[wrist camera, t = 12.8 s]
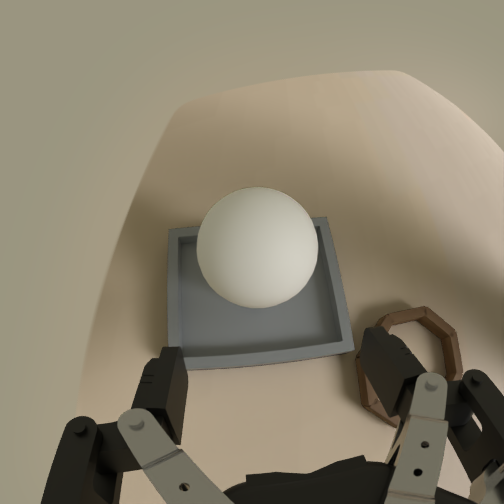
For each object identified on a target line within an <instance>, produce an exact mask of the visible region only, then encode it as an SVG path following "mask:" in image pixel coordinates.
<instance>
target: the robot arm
mask: <svg viewBox="0 0 504 504" xmlns="http://www.w3.org/2000/svg"><path fill="white" fill-rule="evenodd" d="M360 364H361V367H362V369H363V371H364V373H365V375H366V376H367V378H368V380H369V382H370V384H371V385H372V387H373V389H374V391H375V393H376V394H377V396H378V398H379V400H380V402H381V404H382V405H383V407H384V409H385V411H386V413H387V415H388V417H389V418H391V417H394V416H397V415H399V417H400V420H399V423H398V426H397V429H396V432H395V436H394V439H393V442H392V445H391V448H390V451H389V453H388V456H387V458H386V460H385V462H384V463H382V462H371V461H367V462H366V459H365V457H364V455H361V456H357V457H353V458H349V459H345V460H341V461H337V462H335V463H332V464H330V465H328V466H326V467H324V468H321V469H319V470H317V471H314V472H312V473H308V474H300V473H283V472H272V473H262V474H249V475H246V482H243V483H240V484H237V485H235V486H232V487H231V488H229V489H227V490H225V491H224V492H222V491H221V490H220V489H219V488H218V487H217V486H216V485H215V484H214V483H213V482H212V481H211V480H210V479H209V478H208V477H207V476H206V475H205V474H204V473H203V472H202V471H201V470H200V469H199V468H198V466H197V465H196V464H195V463H194V462H193V461H192V460H191V459H190V457H189V456H188V455H187V454H186V453H185V452H184V451H183V450H182V449H178V447H177V446H176V445H181V437H182V429H183V421H184V413H185V405H186V398H187V390H188V374H187V370H186V366H185V362H184V357H183V353H182V349H181V347H180V346H175V347H163V348H162V350H161V354H160V357H159V358H152V359H151V360H150V361H149V362H148V363H147V364H146V365H145V367H144V370H143V373H142V376H141V379H140V383H139V385H138V388H137V391H136V394H135V398H134V401H133V404H132V407H131V409H130V410H128V411H126V412H124V413H123V414H122V415H121V416H120V417H119V419H118V421H116V422H112V423H105V424H98V425H97V424H96V423H95V421H94V420H93V419H91V418H89V417H86V416H79V417H76V418H74V419H72V420H71V421H69V422H68V423H67V425H66V427H65V430H64V432H63V435H62V438H61V440H60V443H59V446H58V449H57V451H56V455H55V457H54V460H53V463H52V466H51V470H50V473H49V476H48V479H47V483H46V487H45V490H44V494H43V497H42V501H41V504H119V500H120V492H121V485H122V478H123V472H127V471H134V470H140V469H143V471H144V473H145V474H146V476H147V477H148V478H149V480H150V481H151V483H152V484H153V486H154V487H155V488H156V490H157V491H158V492H159V494H160V495H161V497H162V498H163V499H164V500H165V502H166V503H167V504H504V396H503V395H502V393H501V392H500V391H499V389H498V388H497V387H496V386H495V385H494V383H493V382H492V381H491V380H490V378H489V377H488V376H487V375H486V374H485V373H484V372H482V371H480V370H475V369H472V370H468V371H466V372H465V373H464V375H463V377H462V379H461V380H455V381H446V380H445V378H444V377H442V376H441V375H439V374H437V373H433V372H427V371H426V370H425V368H424V367H423V366H422V364H421V363H420V362H419V361H418V359H417V358H416V357H415V356H414V354H412V352H411V351H410V349H409V348H407V346H406V344H405V343H404V342H403V341H402V340H401V339H400V338H398V337H396V336H395V335H393V334H392V335H389V333H388V332H387V331H386V330H385V328H384V327H383V326H376V327H371V328H366V329H365V331H364V336H363V341H362V347H361V352H360ZM473 413H474V414H475V415H476V417H477V418H478V420H479V421H480V423H481V425H482V432H481V430H480V429H479V427H478V426H477V424H476V422H475V421H474V419H473V418H472V415H473ZM447 437H448V439H449V440H450V442H451V444H452V446H453V448H454V450H455V452H456V454H457V455H458V457H459V459H460V461H461V463H462V465H463V467H464V469H465V471H466V473H467V475H468V477H469V479H470V481H471V483H472V484H471V486H470V495H469V497H468V499H467V498H464V497H462V496H459V495H456V494H454V493H451V492H449V491H447V490H444V489H442V488H439V487H437V483H438V479H439V475H440V470H441V466H442V461H443V456H444V450H445V444H446V438H447Z"/></svg>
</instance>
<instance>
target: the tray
mask: <svg viewBox="0 0 504 504" xmlns="http://www.w3.org/2000/svg"><path fill="white" fill-rule="evenodd" d="M311 220H312V222H313V225H314V228H315V231H316V234H317V240H318V255H317V262H316V265H315V268H314V271H313V273H312V275H311V277H310V279H309V280H308V282H307V284H306V285H305V286H304V287H303V288H302V290H301V291H300V292H299V293H298V294H296V295H295V296H293V297H292V298H291V299H289V300H287V301H285V302H283V303H280V304H278V305H276V306H272V307H267V308H248V307H242V306H239V305H237V304H234V303H232V302H229V301H228V300H226V299H225V298H223V297H222V296H220V295H219V294H217V293H216V292H215V291H214V290H213V289H212V288H211V287H210V286H209V284H208V283H207V281H206V279H205V278H204V276H203V274H202V271H201V269H200V266H199V263H198V259H197V251H196V250H197V238H198V233H199V230H200V226H198V227H187V228H176V229H169V238H168V272H167V319H168V347H175V346H180V347H181V349H182V353H183V357H184V362H185V366H186V370H211V369H227V368H240V367H251V366H262V365H271V364H279V363H287V362H295V361H302V360H309V359H316V358H322V357H328V356H334V355H339V354H345V353H348V352H351V351H353V350H355V348H354V342H353V336H352V330H351V325H350V319H349V314H348V309H347V303H346V298H345V294H344V289H343V284H342V279H341V275H340V270H339V266H338V261H337V257H336V253H335V249H334V244H333V240H332V236H331V232H330V228H329V224H328V221H327V217H318V218H311Z"/></svg>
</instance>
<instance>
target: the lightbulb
mask: <svg viewBox="0 0 504 504" xmlns="http://www.w3.org/2000/svg"><path fill="white" fill-rule="evenodd" d="M196 251H197V259H198V263H199V266H200V269H201V271H202V274H203V276H204V278H205V279H206V281H207V283H208V284H209V286H210V287H211V288H212V289H213V290H214V291H215V292H216V293H217V294H219V295H220V296H222V297H223V298H225V299H226V300H228V301H229V302H232V303H234V304H237V305H239V306H242V307H248V308H267V307H272V306H276V305H278V304H280V303H283V302H285V301H287V300H289V299H291V298H292V297H293V296H295V295H296V294H298V293H299V292H300V291H301V290H302V288H303V287H304V286H305V285H306V284H307V282H308V280H309V279H310V277H311V275H312V273H313V271H314V268H315V265H316V262H317V255H318V240H317V234H316V231H315V228H314V225H313V222H312V220H311V218H310V216H309V215H308V213H307V212H306V211H305V209H304V208H303V207H302V206H301V205H300V204H299V203H298V202H297V201H295V200H294V199H293V198H291V197H290V196H288V195H286V194H284V193H283V192H280V191H277V190H274V189H271V188H265V187H250V188H244V189H240V190H237V191H234V192H232V193H230V194H228V195H227V196H225V197H223V198H222V199H221V200H219V201H218V202H217V203H216V204H214V206H213V207H212V208H211V209H210V210H209V211H208V213H207V214H206V216H205V218H204V220H203V222H202V224H201V226H200V230H199V233H198V238H197V250H196Z"/></svg>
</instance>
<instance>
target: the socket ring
mask: <svg viewBox="0 0 504 504" xmlns="http://www.w3.org/2000/svg"><path fill="white" fill-rule="evenodd" d="M414 320H417V321H418V322H420V323H421V324H422V325H423V326H425V327H426V328H427V329H428V330H430V331H431V332H432V333H433V334H435V335H436V336H437V337H438V338H440V339H441V342H442V347H443V353H444V359H445V365H446V372H447V375H446V377H445V380H446V381H455V380H461V378H462V375H463V374H462V373H463V367H462V361H461V355H460V349H459V343H458V338H457V333H456V332H455V329H454V328H452V327H451V326H450V325H449V324H448V323H446V322H445V321H444V320H443V319H442V318H440V317H439V316H438V315H437V314H436V313H434V312H433V311H432V310H431V309H429V308H428V307H427V306H426V307H425V306H423V307H418V308H414V309H409V310H404V311H399V312H394V313H389V314H387V315H385V316H384V317H382V318H381V319H379V321H378V323H377V324H376V326H383V327H384V328H385V330H386V331H387V332H388V331H389V329H390V328H391V326H392V325H397V324H401V323H406V322H410V321H414ZM376 326H375V327H376ZM360 352H361V350H360V351H359V353H358V354H357V356H356V357H357V359H355V360H356V366H357V373H358V380H359V388H360V395H361V404H362V405H363V407H364V408H366V409H367V410H369V411H370V412H372V413H373V414H375V415H376V416H378V417H379V418H381V419H382V420H384V421H385V422H387V423H388V424H390V425H391V426H393V427H394V428H397V426H398V423H399V420H400V417H399V415H397V416H394V417H391V418H389V417H388V415H387V413H386V411H385V409H384V407H383V405H382V404H381V402H380V401H379V400H378V396H377V394H376V393H375V391H374V389H373V387H372V385H371V384H370V382H369V380H368V378H367V376H366V375H365V373H364V371H363V369H362V367H361V364H360Z"/></svg>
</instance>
